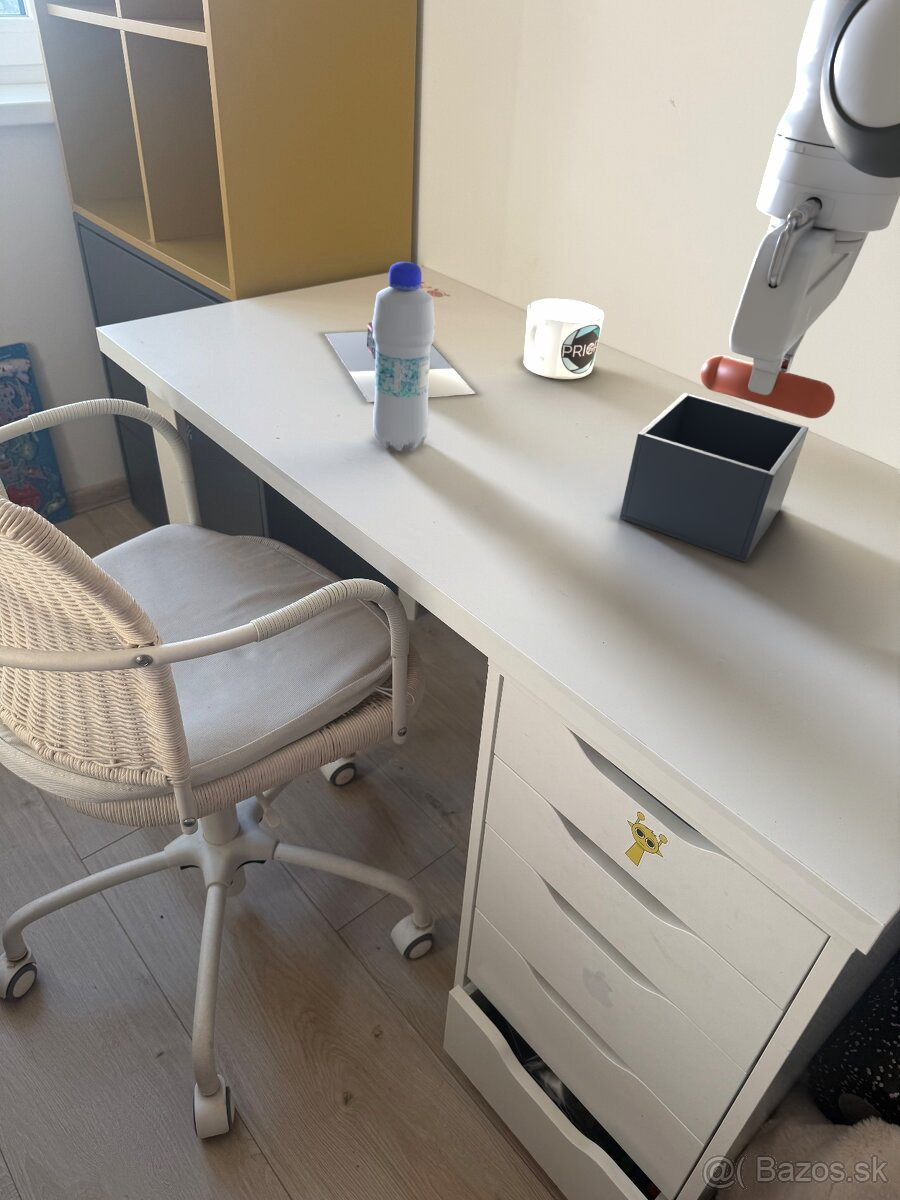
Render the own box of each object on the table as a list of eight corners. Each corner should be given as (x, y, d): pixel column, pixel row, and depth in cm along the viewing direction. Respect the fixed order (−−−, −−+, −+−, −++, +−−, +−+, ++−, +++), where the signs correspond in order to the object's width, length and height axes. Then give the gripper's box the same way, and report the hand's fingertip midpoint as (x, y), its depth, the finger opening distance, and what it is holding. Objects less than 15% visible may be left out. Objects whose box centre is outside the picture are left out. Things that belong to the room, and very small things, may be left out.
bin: (780, 508, 89) (809, 427, 84) (744, 562, 80) (774, 475, 74) (664, 471, 94) (684, 392, 89) (619, 518, 85) (637, 433, 80)
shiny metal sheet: (368, 402, 104) (368, 369, 102) (324, 333, 123) (324, 305, 120) (475, 393, 109) (478, 362, 106) (417, 329, 127) (419, 301, 125)
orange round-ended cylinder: (830, 415, 65) (843, 381, 63) (822, 428, 63) (836, 393, 61) (703, 380, 69) (711, 347, 67) (691, 390, 67) (700, 356, 65)
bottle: (427, 457, 93) (437, 274, 81) (368, 453, 93) (369, 269, 81) (430, 431, 99) (439, 256, 87) (373, 427, 99) (375, 251, 87)
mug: (548, 347, 125) (556, 292, 120) (608, 368, 119) (618, 311, 115) (493, 369, 116) (499, 311, 111) (555, 392, 111) (564, 332, 106)
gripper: (847, 223, 48) (773, 440, 56) (900, 178, 62) (835, 357, 71) (740, 203, 50) (684, 414, 59) (815, 164, 65) (762, 338, 73)
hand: (767, 382), depth 65 cm, fingers closed on orange round-ended cylinder, 3 cm apart
